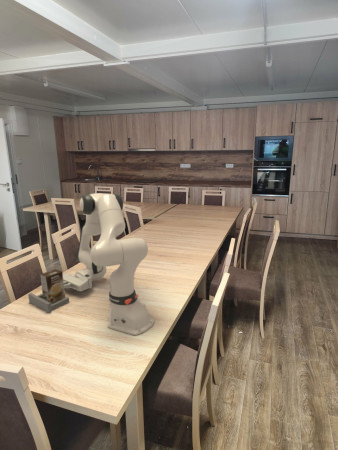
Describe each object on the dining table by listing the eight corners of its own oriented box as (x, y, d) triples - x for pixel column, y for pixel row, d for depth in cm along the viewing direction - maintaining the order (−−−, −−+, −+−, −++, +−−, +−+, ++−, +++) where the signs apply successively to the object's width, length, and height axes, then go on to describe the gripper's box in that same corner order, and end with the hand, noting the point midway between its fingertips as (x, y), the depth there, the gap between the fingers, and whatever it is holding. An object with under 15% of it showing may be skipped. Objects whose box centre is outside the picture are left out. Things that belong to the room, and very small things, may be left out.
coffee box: (50, 306, 151) (46, 277, 147) (43, 302, 155) (39, 274, 150) (65, 299, 158) (62, 271, 154) (58, 295, 162) (55, 268, 158)
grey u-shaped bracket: (70, 302, 154) (69, 294, 153) (48, 313, 144) (47, 304, 143) (50, 293, 164) (49, 285, 163) (29, 302, 155) (28, 293, 153)
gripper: (70, 268, 174) (49, 277, 164) (92, 277, 162) (71, 286, 152) (71, 278, 176) (50, 287, 165) (93, 287, 164) (72, 297, 153)
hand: (60, 287), depth 158 cm, fingers closed, pressing on coffee box
